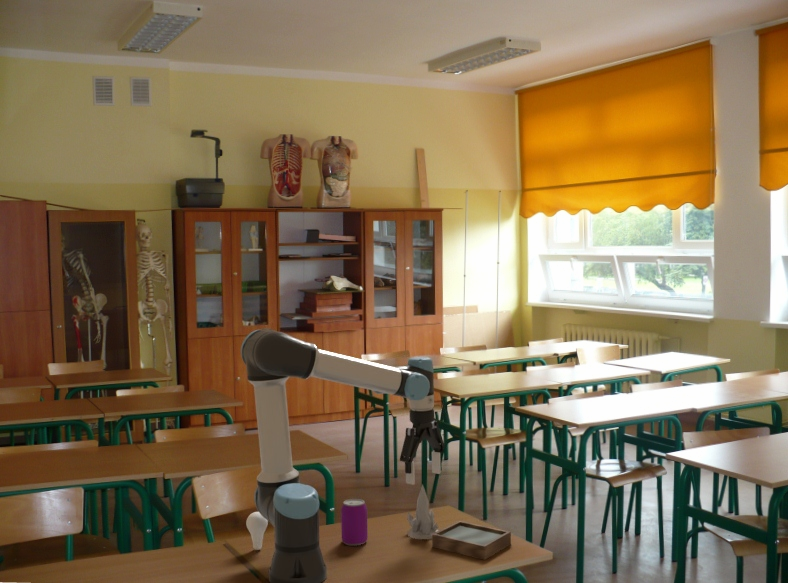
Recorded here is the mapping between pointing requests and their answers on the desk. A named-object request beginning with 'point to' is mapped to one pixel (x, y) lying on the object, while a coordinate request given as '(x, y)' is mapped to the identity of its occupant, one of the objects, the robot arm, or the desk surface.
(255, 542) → the lightbulb
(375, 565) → the desk surface
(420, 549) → the desk surface
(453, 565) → the desk surface
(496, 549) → the wooden tray
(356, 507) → the beverage can
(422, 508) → the crystal
